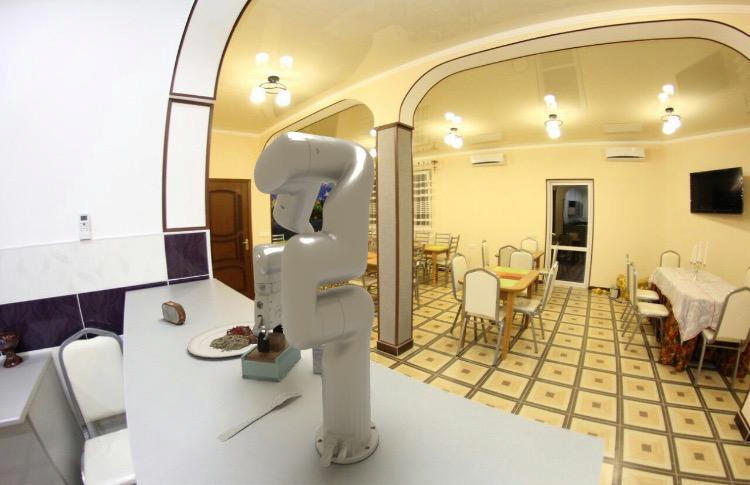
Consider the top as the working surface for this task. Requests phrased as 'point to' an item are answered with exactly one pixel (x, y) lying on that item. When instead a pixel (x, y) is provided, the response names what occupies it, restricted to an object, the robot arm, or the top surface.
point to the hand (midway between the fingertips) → (271, 345)
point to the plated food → (224, 340)
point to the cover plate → (275, 346)
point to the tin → (173, 312)
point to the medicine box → (317, 358)
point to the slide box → (270, 365)
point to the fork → (235, 429)
